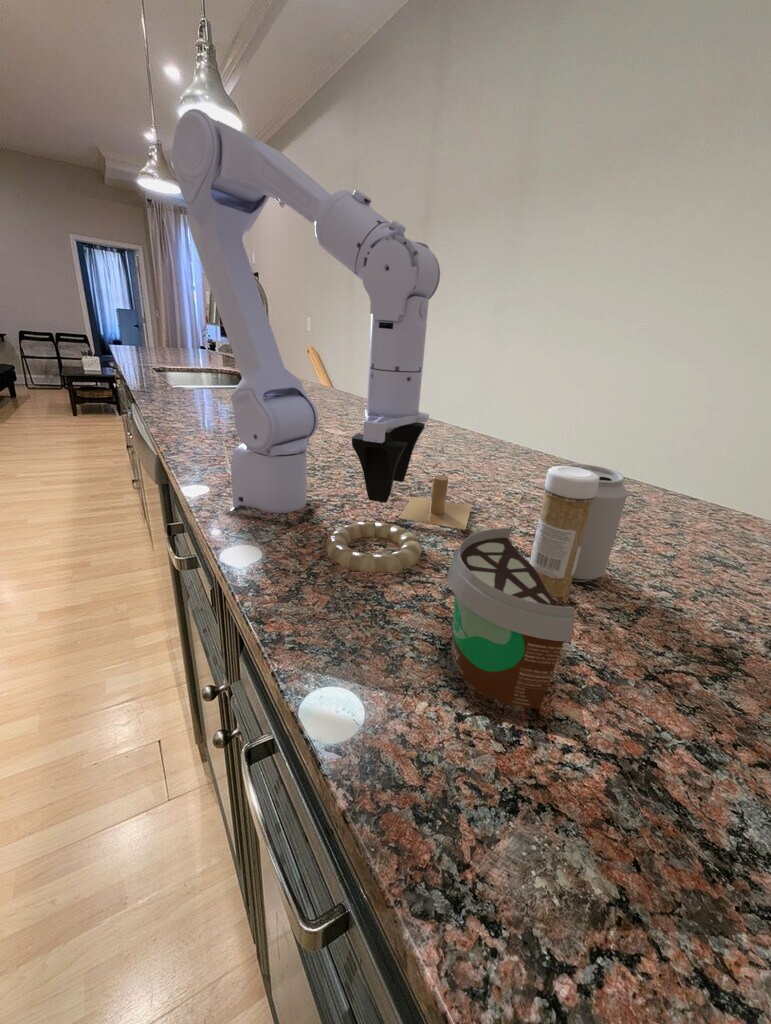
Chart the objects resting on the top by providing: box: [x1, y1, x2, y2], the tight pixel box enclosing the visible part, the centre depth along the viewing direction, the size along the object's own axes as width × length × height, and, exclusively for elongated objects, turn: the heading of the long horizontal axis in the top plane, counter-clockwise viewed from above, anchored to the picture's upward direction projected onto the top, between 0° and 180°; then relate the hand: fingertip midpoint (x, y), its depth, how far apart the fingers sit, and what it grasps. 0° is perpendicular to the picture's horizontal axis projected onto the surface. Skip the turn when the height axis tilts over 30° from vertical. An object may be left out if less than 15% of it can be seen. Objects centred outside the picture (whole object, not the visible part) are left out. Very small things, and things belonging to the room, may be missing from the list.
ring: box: [324, 521, 423, 574], centre depth 51 cm, size 11×11×2 cm
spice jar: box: [529, 465, 599, 605], centre depth 44 cm, size 5×5×13 cm
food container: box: [447, 527, 576, 709], centre depth 33 cm, size 12×6×10 cm, turn 5°
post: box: [398, 475, 473, 531], centre depth 62 cm, size 9×9×6 cm
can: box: [564, 463, 629, 583], centre depth 50 cm, size 8×8×12 cm
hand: (387, 489), depth 53 cm, fingers open, 7 cm apart
